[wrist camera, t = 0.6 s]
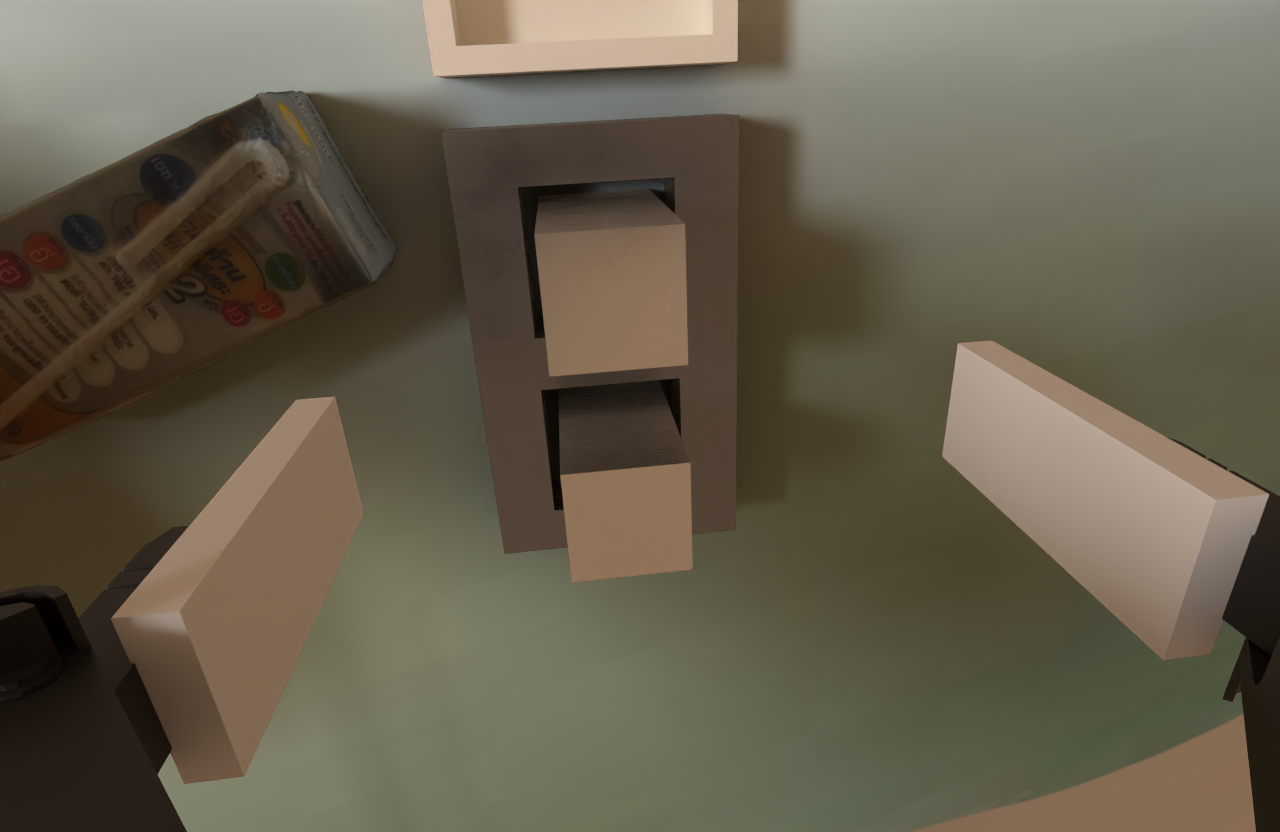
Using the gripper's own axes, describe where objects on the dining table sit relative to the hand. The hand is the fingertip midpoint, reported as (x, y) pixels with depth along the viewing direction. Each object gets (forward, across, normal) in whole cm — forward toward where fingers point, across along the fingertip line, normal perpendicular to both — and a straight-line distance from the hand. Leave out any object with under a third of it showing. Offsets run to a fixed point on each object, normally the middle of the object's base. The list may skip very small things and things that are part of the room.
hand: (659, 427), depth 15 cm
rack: (+20, 0, -4) cm, 21 cm away
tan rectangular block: (+20, 0, 0) cm, 20 cm away
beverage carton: (+21, -19, 0) cm, 28 cm away
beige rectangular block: (+20, 0, -9) cm, 22 cm away
